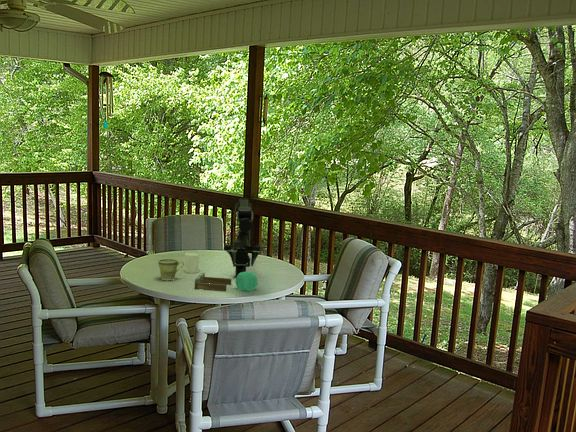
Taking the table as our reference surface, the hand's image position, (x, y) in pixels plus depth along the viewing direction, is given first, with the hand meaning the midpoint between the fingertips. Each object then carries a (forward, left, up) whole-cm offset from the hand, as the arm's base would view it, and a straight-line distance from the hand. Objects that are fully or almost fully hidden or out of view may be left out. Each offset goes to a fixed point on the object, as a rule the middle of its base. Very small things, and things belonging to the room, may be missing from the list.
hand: (242, 266), depth 268 cm
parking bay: (-6, -15, -13) cm, 21 cm away
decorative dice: (-6, +1, -13) cm, 15 cm away
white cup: (-33, -34, -13) cm, 49 cm away
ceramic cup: (-14, -40, -13) cm, 44 cm away
